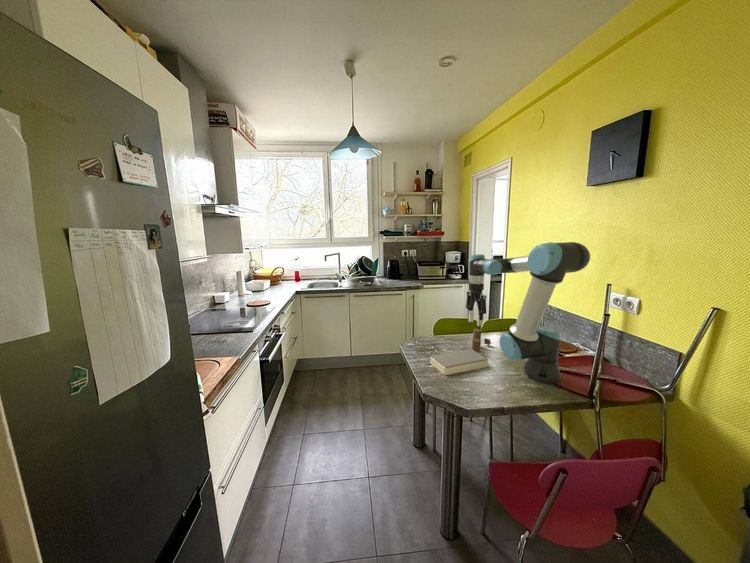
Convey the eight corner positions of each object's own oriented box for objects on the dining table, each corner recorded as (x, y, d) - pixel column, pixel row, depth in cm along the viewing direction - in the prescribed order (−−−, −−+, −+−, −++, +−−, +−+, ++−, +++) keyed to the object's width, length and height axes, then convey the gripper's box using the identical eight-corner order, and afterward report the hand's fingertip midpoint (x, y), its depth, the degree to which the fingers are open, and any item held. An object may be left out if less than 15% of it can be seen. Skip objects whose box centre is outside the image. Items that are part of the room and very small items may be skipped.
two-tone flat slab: (488, 366, 145) (488, 359, 144) (444, 375, 137) (445, 367, 137) (470, 356, 158) (471, 349, 157) (430, 363, 150) (430, 356, 149)
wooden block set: (480, 356, 157) (483, 338, 155) (465, 351, 162) (467, 334, 160) (490, 346, 172) (492, 329, 170) (475, 342, 177) (477, 326, 175)
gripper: (495, 284, 152) (493, 327, 155) (470, 279, 170) (469, 318, 174) (483, 286, 149) (481, 329, 153) (459, 280, 168) (459, 319, 171)
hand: (475, 323), depth 163 cm, fingers open, 7 cm apart
